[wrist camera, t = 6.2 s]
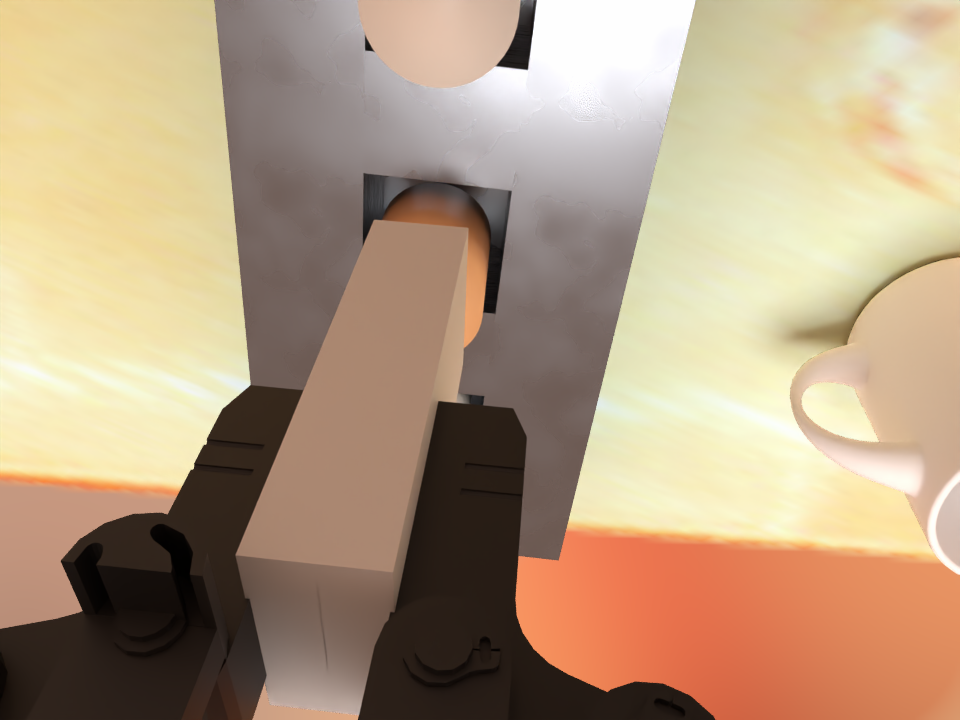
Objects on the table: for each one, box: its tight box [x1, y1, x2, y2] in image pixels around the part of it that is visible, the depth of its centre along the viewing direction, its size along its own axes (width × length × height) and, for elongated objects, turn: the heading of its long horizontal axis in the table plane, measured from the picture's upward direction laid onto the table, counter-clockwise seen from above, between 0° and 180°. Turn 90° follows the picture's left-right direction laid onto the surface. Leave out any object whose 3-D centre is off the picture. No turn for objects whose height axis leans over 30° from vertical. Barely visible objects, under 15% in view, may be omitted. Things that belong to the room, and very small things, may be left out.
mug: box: [790, 257, 960, 575], centre depth 32 cm, size 9×12×11 cm
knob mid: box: [382, 183, 491, 348], centre depth 27 cm, size 4×4×5 cm
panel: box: [214, 0, 696, 560], centre depth 31 cm, size 32×14×6 cm, turn 174°
